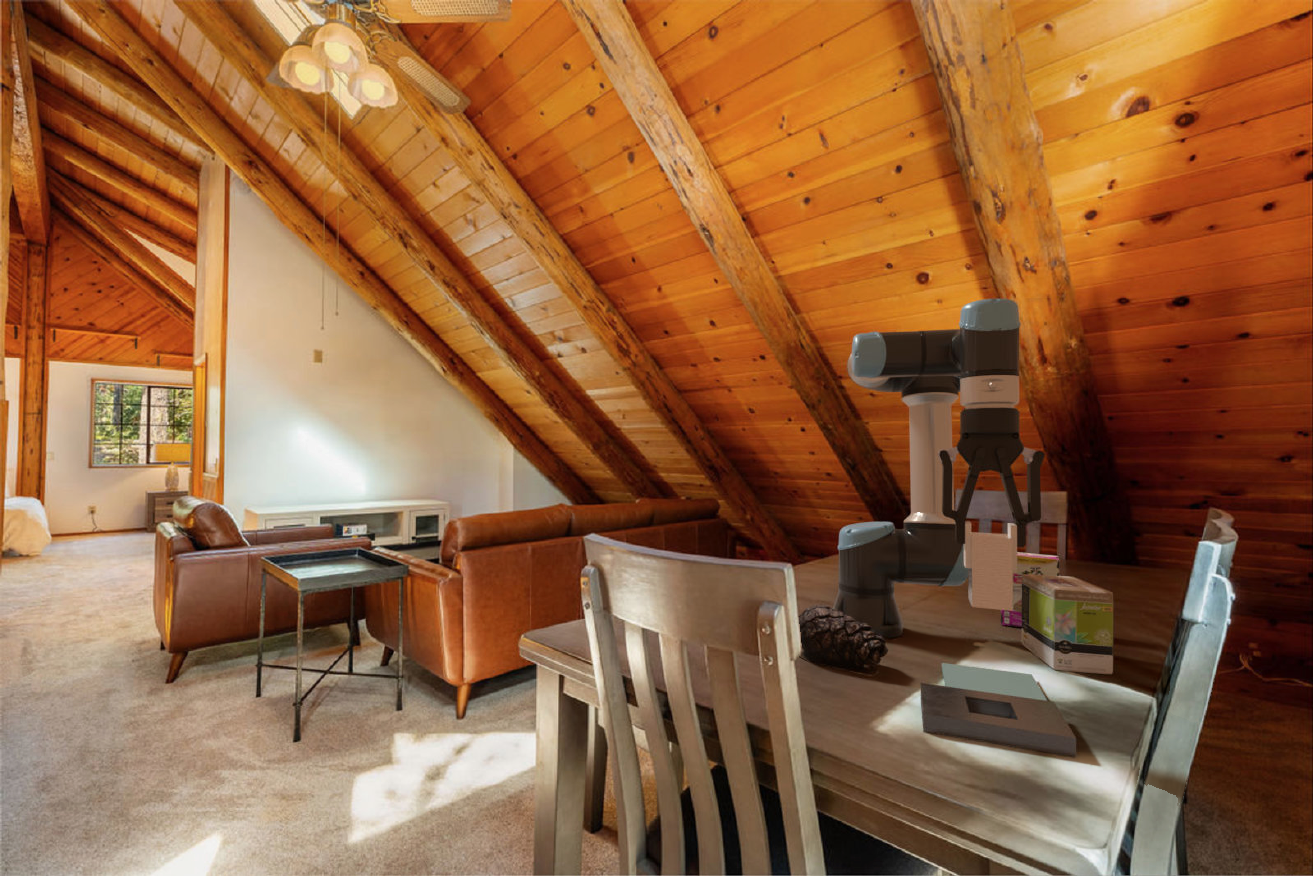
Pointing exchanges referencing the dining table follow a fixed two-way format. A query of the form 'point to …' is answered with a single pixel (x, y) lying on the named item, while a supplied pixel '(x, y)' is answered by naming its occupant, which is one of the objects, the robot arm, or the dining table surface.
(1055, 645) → the tea box
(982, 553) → the pale wooden block
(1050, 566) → the candy bar box
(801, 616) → the pine cone
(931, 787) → the dining table surface
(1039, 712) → the grey slotted board
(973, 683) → the pad
